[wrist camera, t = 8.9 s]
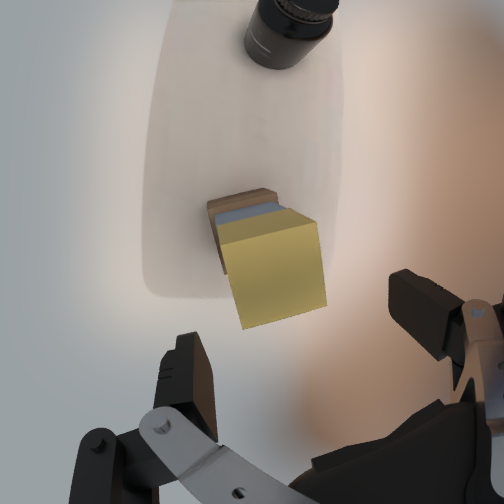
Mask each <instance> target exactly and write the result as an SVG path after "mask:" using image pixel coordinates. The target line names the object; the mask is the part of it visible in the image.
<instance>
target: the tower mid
mask: <svg viewBox="0 0 504 504" xmlns="http://www.w3.org/2000/svg"><path fill="white" fill-rule="evenodd" d="M283 209H286V208H284V207H283V206H281V205H279V204H277V203H275V202H273V201H271V202H266V203H262V204H257V205H253V206H248V207H244V208H240V209H235V210H231V211H227V212H223V213H219V214H215V223H216V229H217V233H218V228H217V225H221V224H225V223H229V222H233V221H237V220H241V219H245V218H249V217H253V216H258V215H262V214H266V213H270V212H275V211H279V210H283ZM218 237H219V235H218Z"/></svg>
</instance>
